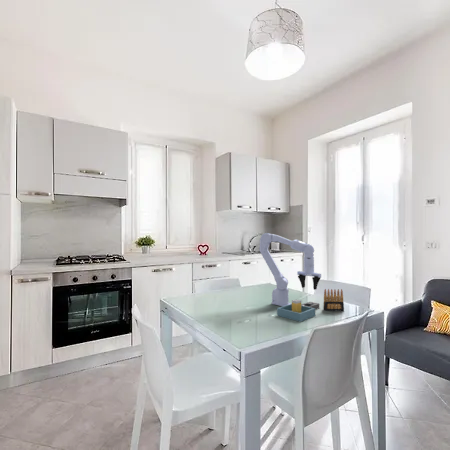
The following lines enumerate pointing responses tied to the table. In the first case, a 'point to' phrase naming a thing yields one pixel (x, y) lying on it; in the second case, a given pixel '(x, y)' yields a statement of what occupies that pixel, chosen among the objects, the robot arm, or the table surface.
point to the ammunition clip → (333, 301)
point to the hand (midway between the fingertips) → (309, 288)
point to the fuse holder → (311, 305)
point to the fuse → (296, 306)
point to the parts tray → (288, 313)
